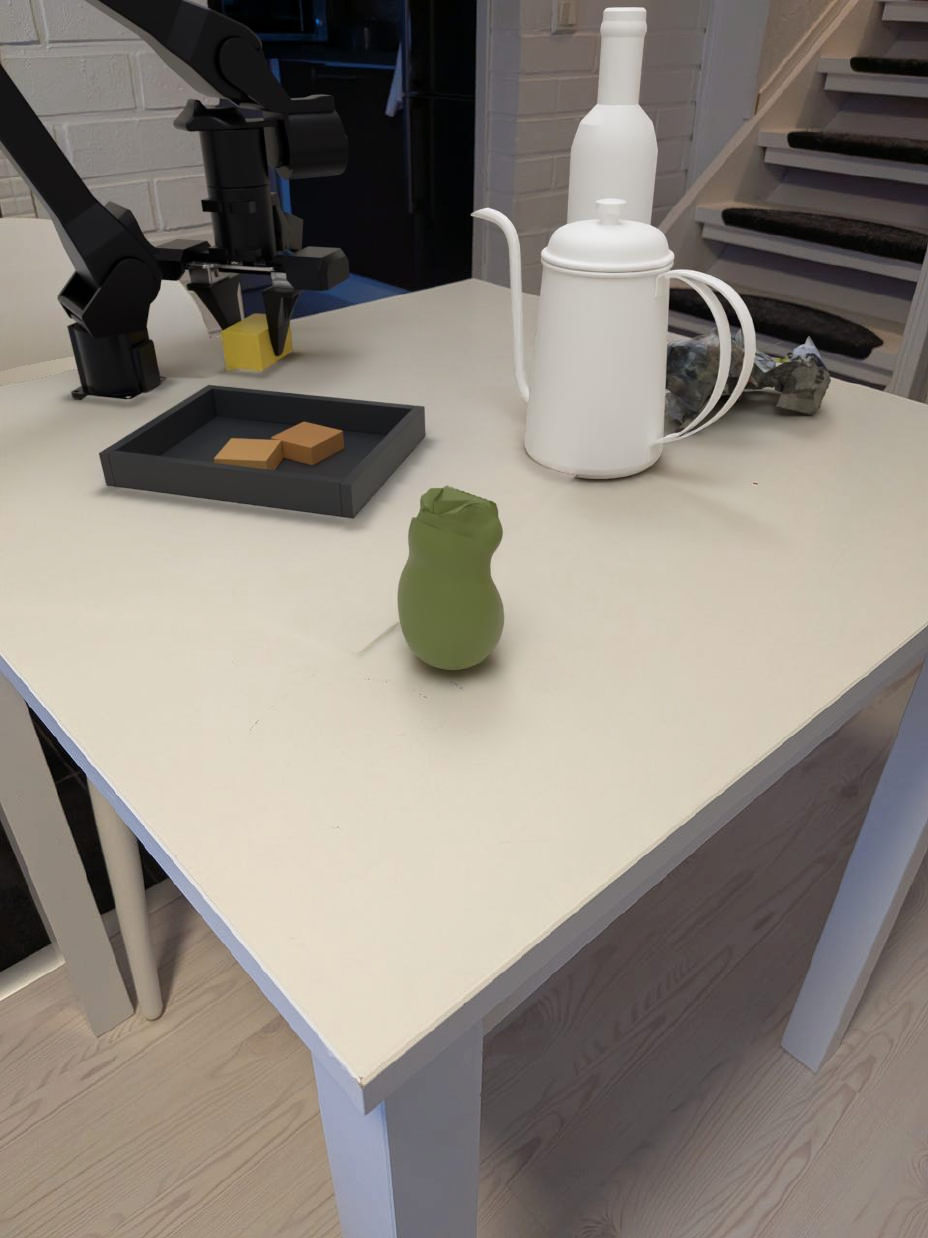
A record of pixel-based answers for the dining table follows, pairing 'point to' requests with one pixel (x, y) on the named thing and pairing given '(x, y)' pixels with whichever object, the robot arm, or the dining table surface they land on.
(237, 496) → the pan
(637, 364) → the coffeepot
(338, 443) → the block
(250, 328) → the sponge
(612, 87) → the bottle
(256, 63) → the robot arm
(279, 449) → the block
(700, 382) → the foil
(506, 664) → the dining table surface
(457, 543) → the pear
